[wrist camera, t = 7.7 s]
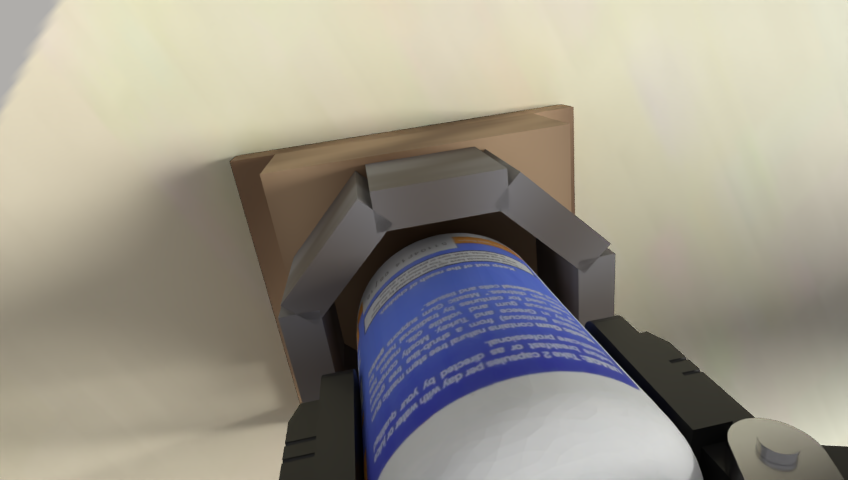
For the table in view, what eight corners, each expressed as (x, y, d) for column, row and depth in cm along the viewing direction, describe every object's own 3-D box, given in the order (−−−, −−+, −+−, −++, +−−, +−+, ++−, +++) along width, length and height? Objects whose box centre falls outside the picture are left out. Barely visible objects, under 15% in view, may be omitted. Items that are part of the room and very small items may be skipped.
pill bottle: (315, 316, 13) (241, 880, 4) (461, 186, 12) (763, 517, 3) (440, 420, 15) (577, 955, 6) (573, 313, 14) (952, 737, 5)
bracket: (561, 104, 18) (922, 178, 7) (567, 366, 22) (787, 674, 11) (236, 155, 17) (9, 350, 5) (311, 420, 21) (271, 822, 10)
